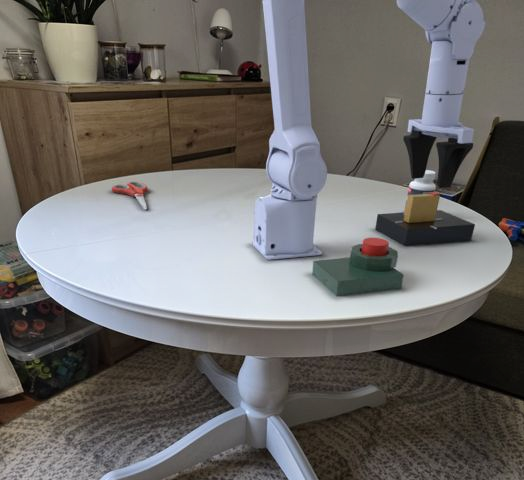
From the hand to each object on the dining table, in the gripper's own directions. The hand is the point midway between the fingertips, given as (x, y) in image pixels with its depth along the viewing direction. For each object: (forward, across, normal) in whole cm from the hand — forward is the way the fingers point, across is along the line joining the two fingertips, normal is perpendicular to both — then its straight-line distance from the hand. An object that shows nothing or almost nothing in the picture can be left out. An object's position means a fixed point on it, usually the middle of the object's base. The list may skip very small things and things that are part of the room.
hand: (430, 182), depth 83 cm
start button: (+5, -15, +19) cm, 25 cm away
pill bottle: (+10, +13, -8) cm, 18 cm away
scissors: (+8, +40, +46) cm, 61 cm away
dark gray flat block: (+10, +1, -1) cm, 10 cm away
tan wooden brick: (+7, 0, +1) cm, 7 cm away
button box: (+8, -16, +22) cm, 29 cm away
